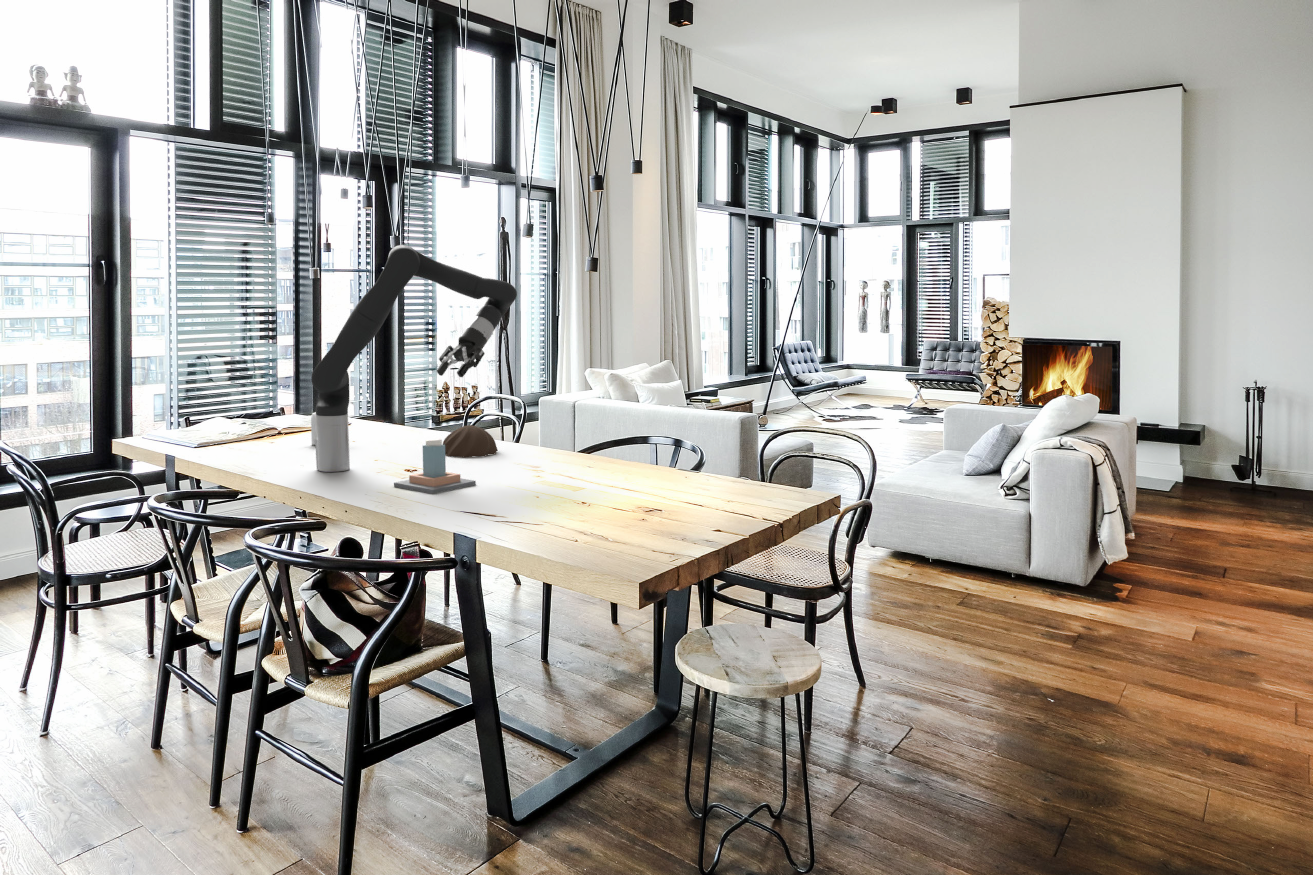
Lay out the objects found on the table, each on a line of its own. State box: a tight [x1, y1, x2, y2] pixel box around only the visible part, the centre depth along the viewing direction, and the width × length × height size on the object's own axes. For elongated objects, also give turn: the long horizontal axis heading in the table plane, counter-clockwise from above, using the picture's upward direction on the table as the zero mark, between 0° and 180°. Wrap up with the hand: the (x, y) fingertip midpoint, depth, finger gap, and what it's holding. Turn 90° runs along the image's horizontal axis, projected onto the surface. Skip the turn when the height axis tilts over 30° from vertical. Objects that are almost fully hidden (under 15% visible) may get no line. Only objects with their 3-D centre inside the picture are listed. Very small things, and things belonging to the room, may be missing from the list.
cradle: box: [393, 471, 477, 495], centre depth 255 cm, size 16×16×3 cm
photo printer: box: [310, 411, 317, 446], centre depth 326 cm, size 10×4×12 cm, turn 123°
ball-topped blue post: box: [422, 438, 447, 478], centre depth 254 cm, size 4×4×12 cm
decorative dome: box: [442, 424, 498, 458], centre depth 312 cm, size 19×20×10 cm
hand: (449, 374), depth 265 cm, fingers open, 8 cm apart
